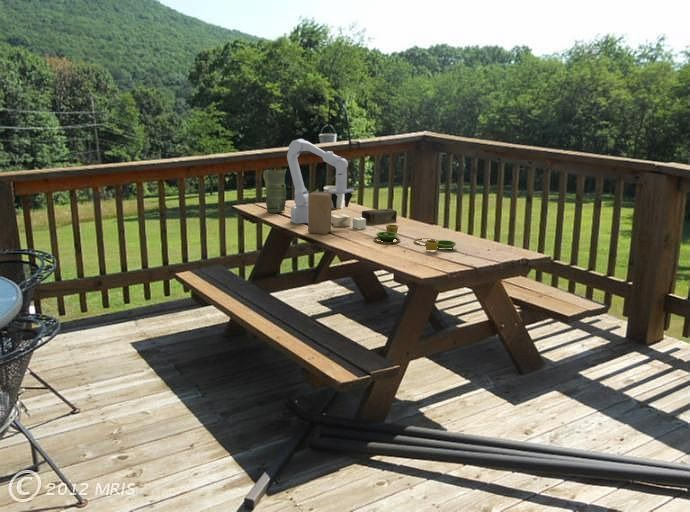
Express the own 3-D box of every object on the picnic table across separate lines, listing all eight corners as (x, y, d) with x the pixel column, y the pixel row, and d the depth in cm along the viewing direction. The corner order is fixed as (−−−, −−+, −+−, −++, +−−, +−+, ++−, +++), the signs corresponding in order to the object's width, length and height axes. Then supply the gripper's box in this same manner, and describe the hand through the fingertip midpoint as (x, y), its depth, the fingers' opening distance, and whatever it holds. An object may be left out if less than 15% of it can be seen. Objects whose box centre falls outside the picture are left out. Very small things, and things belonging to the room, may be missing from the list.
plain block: (336, 227, 351) (336, 217, 349) (330, 224, 358) (330, 215, 356) (350, 226, 354) (350, 216, 353) (343, 223, 361) (344, 214, 360)
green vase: (261, 212, 383) (261, 169, 377) (271, 209, 394) (271, 166, 388) (279, 214, 379) (278, 170, 373) (288, 210, 390) (288, 168, 384)
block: (326, 234, 332) (327, 195, 327) (307, 233, 334) (307, 194, 329) (331, 230, 342) (332, 191, 336) (312, 229, 343) (312, 190, 338)
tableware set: (362, 239, 327) (362, 226, 326) (405, 233, 343) (406, 221, 341) (416, 258, 295) (417, 244, 293) (462, 250, 310) (463, 237, 308)
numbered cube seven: (357, 229, 347) (357, 219, 345) (352, 227, 351) (352, 217, 350) (365, 228, 349) (365, 218, 348) (361, 226, 353) (361, 216, 352)
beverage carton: (397, 221, 368) (397, 209, 367) (368, 224, 358) (369, 212, 357) (388, 218, 375) (389, 207, 373) (360, 222, 365) (360, 210, 363)
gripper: (332, 183, 343) (331, 209, 347) (357, 182, 350) (356, 207, 353) (326, 181, 349) (325, 207, 353) (350, 180, 356) (350, 205, 359)
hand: (340, 207), depth 353 cm, fingers open, 6 cm apart
